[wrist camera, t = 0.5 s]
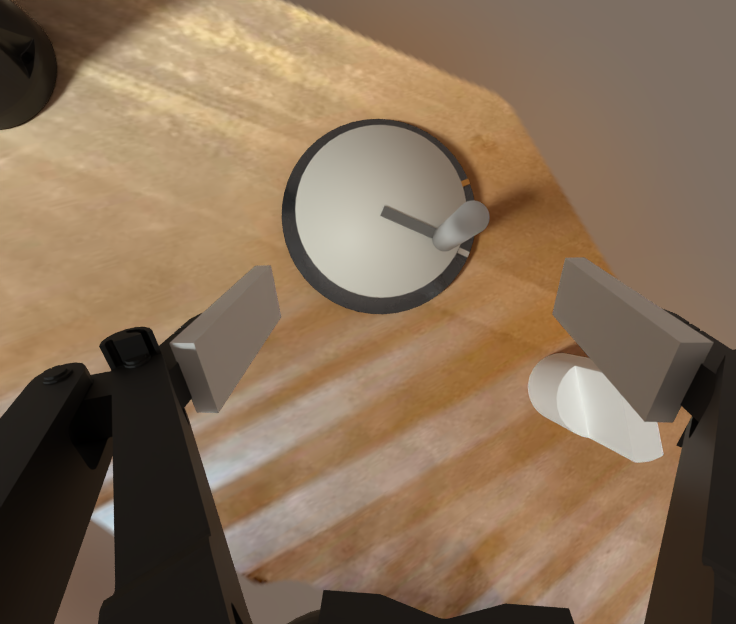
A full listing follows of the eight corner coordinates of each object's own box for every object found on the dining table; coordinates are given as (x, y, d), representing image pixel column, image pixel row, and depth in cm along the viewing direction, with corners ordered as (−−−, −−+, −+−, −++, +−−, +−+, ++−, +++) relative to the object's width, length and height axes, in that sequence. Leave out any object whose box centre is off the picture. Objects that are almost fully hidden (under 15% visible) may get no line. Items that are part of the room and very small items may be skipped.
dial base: (244, 204, 41) (239, 199, 40) (392, 87, 42) (394, 77, 40) (365, 352, 42) (366, 354, 40) (508, 235, 43) (515, 231, 41)
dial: (272, 258, 40) (242, 239, 29) (336, 107, 40) (331, 30, 29) (423, 323, 41) (450, 327, 30) (485, 174, 41) (535, 125, 30)
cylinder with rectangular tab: (521, 360, 43) (587, 380, 31) (586, 346, 44) (675, 360, 32) (535, 427, 44) (605, 472, 32) (599, 412, 44) (692, 450, 32)
